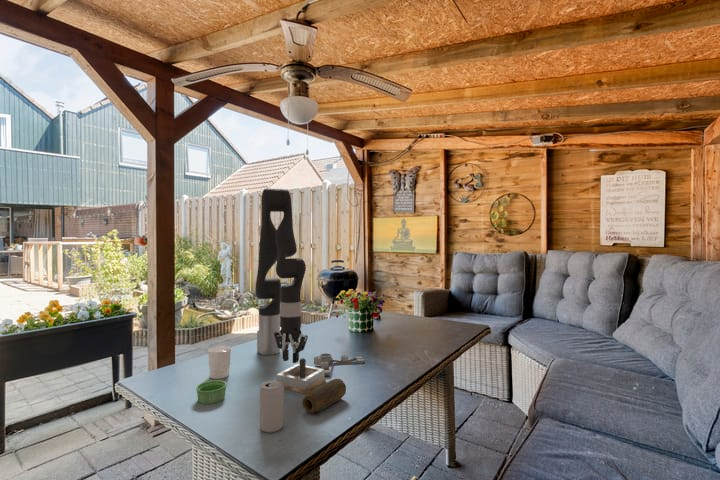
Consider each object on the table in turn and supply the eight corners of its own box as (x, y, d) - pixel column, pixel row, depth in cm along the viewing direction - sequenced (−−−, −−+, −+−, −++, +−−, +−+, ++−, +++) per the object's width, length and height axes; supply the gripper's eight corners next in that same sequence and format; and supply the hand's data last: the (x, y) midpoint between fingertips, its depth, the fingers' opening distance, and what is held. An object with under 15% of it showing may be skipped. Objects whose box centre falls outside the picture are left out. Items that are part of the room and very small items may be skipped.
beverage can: (262, 422, 103) (262, 379, 103) (285, 421, 104) (285, 379, 103) (257, 434, 97) (257, 389, 97) (282, 433, 97) (282, 388, 97)
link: (276, 383, 127) (276, 374, 127) (297, 371, 138) (297, 363, 138) (304, 389, 122) (304, 380, 122) (324, 377, 133) (324, 369, 133)
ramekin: (232, 394, 121) (232, 381, 121) (215, 406, 112) (215, 392, 112) (208, 391, 123) (208, 378, 123) (189, 403, 114) (189, 389, 114)
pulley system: (295, 372, 143) (322, 380, 133) (295, 360, 143) (321, 367, 134) (343, 357, 164) (369, 363, 154) (343, 346, 164) (369, 352, 154)
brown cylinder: (330, 394, 122) (330, 374, 122) (347, 399, 118) (347, 378, 118) (299, 412, 109) (299, 390, 109) (318, 419, 105) (318, 395, 105)
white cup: (235, 373, 139) (235, 347, 139) (221, 380, 132) (221, 353, 132) (218, 370, 142) (218, 344, 142) (203, 378, 135) (203, 350, 134)
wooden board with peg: (278, 386, 127) (278, 360, 127) (298, 375, 138) (299, 351, 138) (306, 393, 122) (306, 366, 121) (326, 381, 132) (326, 356, 132)
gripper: (268, 313, 132) (268, 361, 132) (300, 318, 125) (300, 368, 125) (281, 310, 138) (281, 355, 138) (313, 313, 132) (312, 361, 132)
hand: (290, 361), depth 132 cm, fingers open, 3 cm apart
